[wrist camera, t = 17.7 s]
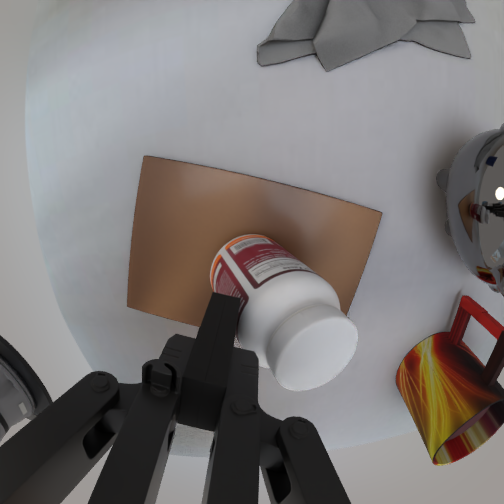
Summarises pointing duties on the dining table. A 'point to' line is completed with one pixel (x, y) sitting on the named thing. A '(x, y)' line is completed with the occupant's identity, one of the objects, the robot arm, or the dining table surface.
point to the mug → (454, 388)
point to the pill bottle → (284, 312)
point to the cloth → (363, 29)
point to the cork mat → (233, 233)
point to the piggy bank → (478, 206)
